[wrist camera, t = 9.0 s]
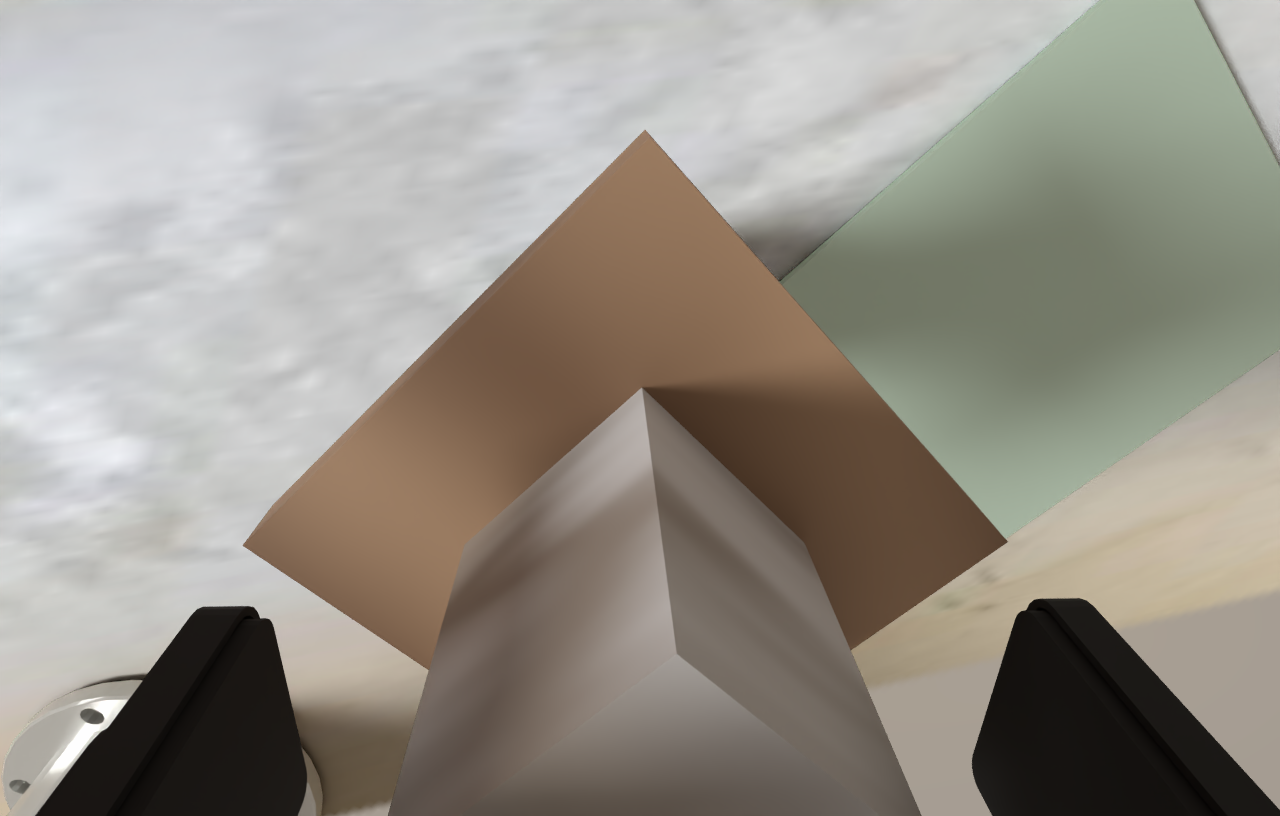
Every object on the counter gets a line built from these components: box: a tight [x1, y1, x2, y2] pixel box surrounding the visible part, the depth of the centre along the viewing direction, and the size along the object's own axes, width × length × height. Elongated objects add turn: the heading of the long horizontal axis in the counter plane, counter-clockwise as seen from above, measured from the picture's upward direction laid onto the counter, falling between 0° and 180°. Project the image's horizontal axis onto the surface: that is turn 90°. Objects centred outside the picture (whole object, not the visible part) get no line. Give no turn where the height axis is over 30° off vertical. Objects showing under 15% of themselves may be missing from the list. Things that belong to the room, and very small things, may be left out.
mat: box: [780, 0, 1280, 539], centre depth 24 cm, size 14×14×1 cm
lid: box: [243, 130, 1008, 816], centre depth 10 cm, size 9×9×7 cm
